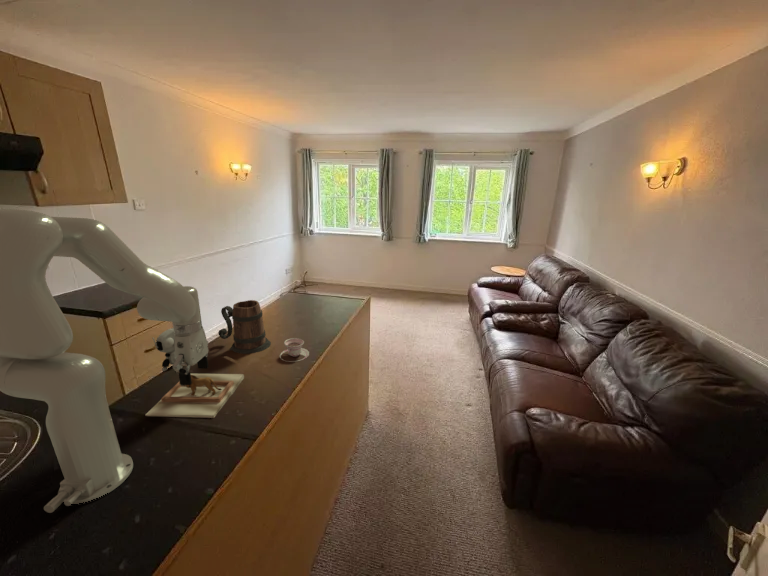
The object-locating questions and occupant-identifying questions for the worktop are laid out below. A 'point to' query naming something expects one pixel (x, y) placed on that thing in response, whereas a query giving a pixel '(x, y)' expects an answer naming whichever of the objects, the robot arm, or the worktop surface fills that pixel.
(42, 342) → the robot arm
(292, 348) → the teacup
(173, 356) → the robot toy
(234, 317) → the tankard
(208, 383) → the lion figurine
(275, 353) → the worktop surface
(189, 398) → the base plate
